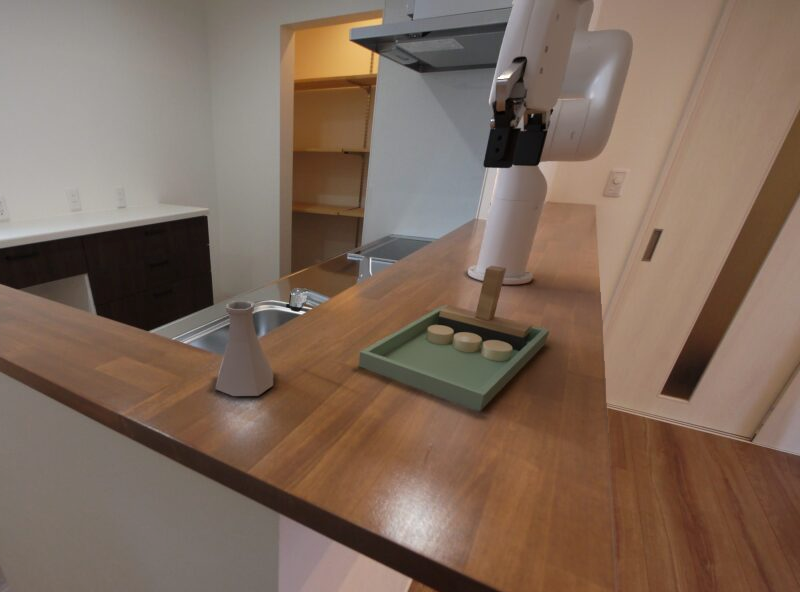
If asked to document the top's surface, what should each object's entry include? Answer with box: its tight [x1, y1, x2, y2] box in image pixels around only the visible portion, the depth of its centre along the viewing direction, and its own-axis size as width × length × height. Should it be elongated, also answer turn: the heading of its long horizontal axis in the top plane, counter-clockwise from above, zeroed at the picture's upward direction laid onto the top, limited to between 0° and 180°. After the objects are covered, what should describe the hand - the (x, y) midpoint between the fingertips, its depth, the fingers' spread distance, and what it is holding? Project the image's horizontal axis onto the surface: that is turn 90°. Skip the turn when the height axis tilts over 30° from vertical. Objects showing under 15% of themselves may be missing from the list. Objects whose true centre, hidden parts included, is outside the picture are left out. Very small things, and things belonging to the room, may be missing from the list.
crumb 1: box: [426, 325, 454, 344], centre depth 61 cm, size 4×4×2 cm
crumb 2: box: [452, 332, 482, 352], centre depth 59 cm, size 4×4×2 cm
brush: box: [438, 266, 533, 351], centre depth 60 cm, size 3×12×10 cm, turn 47°
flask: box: [214, 300, 274, 397], centre depth 50 cm, size 7×7×10 cm
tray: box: [358, 304, 550, 412], centre depth 57 cm, size 24×16×3 cm, turn 137°
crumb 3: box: [481, 340, 512, 361], centre depth 57 cm, size 4×4×2 cm
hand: (511, 166), depth 53 cm, fingers open, 9 cm apart
